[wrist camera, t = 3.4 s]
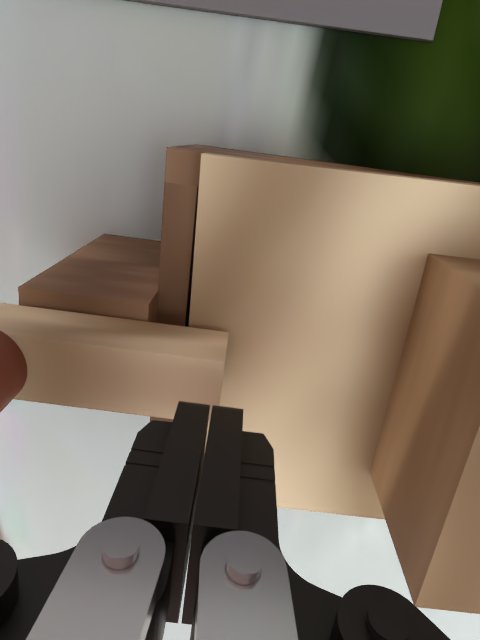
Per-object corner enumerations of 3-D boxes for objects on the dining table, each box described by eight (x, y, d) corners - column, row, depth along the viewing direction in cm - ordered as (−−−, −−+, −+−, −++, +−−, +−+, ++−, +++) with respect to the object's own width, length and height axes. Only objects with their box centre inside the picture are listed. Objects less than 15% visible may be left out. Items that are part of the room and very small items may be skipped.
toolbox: (553, 192, 20) (737, 226, 13) (470, 419, 25) (567, 549, 17) (105, 132, 20) (9, 128, 12) (101, 372, 25) (29, 481, 17)
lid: (735, 214, 14) (1076, 268, 8) (582, 519, 18) (732, 694, 12) (206, 152, 14) (168, 162, 8) (181, 474, 18) (145, 630, 12)
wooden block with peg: (229, 326, 14) (211, 450, 8) (220, 394, 15) (199, 547, 9) (-33, 292, 14) (-228, 395, 8) (-26, 362, 15) (-198, 498, 9)
